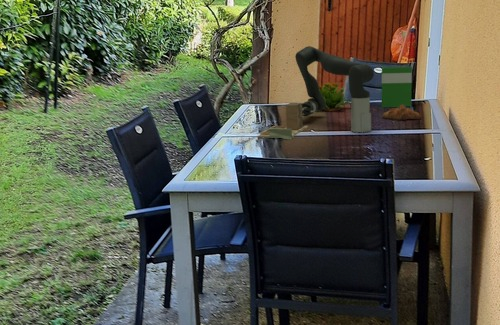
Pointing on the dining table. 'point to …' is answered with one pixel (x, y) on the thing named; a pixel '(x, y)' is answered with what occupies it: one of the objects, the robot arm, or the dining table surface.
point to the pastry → (401, 113)
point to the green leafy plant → (332, 96)
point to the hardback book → (396, 86)
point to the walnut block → (294, 116)
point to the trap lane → (280, 132)
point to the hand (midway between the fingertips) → (297, 113)
